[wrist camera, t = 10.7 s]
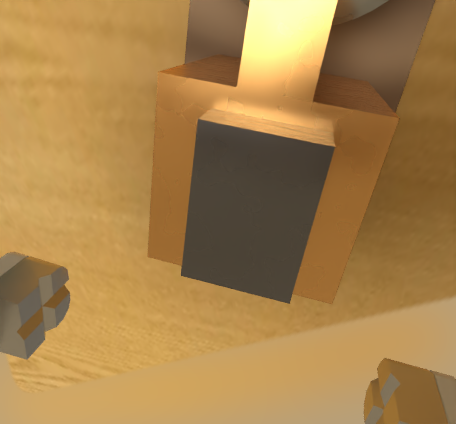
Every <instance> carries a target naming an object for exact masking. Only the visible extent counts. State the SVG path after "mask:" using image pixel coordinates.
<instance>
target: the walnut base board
mask: <svg viewBox="0 0 456 424" xmlns="http://www.w3.org/2000/svg"><path fill="white" fill-rule="evenodd" d="M434 3H435V0H388V1H387V2H385V3H384V4H382V5H381V6H379V7H377V8H376V9H374V10H373V11H371V12H369V13H366V14H364V15H362V16H360V17H358V18H356V19H353V20H350V21H347V22H344V23H341V24H337V25H331V29H330V33H329V37H328V41H327V45H326V49H325V53H324V57H323V61H322V65H321V69H320V73H324V74H330V75H335V76H341V77H346V78H352V79H357V80H363V81H368V82H369V83H370V85H371V86H372V87H373V88H374V89H375V90H376V92H377V93H378V94H379V95H380V96H381V97H382V99H383V100H384V101H385V102H386V103H387V104H388V106H389V107H390V108H391V109H392V110H393V111H394V112H396V109H397V106H398V104H399V101H400V98H401V95H402V92H403V90H404V87H405V84H406V81H407V78H408V76H409V73H410V70H411V67H412V64H413V62H414V59H415V56H416V53H417V50H418V47H419V45H420V42H421V39H422V36H423V33H424V31H425V28H426V25H427V22H428V19H429V17H430V14H431V11H432V8H433V5H434ZM248 11H249V7H248V6H246V5H245V4H244V3H243V2H241V1H240V0H190V8H189V19H188V31H187V42H186V54H185V64H187V63H190V62H193V61H197V60H200V59H203V58H207V57H210V56H214V55H217V54H221V55H226V56H231V57H237V58H241V57H242V51H243V44H244V38H245V31H246V24H247V18H248Z"/></svg>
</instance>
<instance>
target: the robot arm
mask: <svg viewBox="0 0 456 424" xmlns="http://www.w3.org/2000/svg"><path fill="white" fill-rule="evenodd" d="M68 280H69V277H68V269H66V268H64V267H63V266H59V265H56V264H53V263H50V262H47V261H43V260H40V259H37V258H34V257H29V256H26V255H23V254H20V253H17V252H10V253H7V254H5V255H4V256H3V257H1V258H0V352H3V353H6V354H10V355H13V356H17V357H20V358H23V359H28V358H29V357H30V356H31V355H32V354H33V353H34V351H35V350H36V349H37V348H38V347H39V346H40V345H41V344H42V343H43V341H44V340H45V332H46V331H48V330H50V329H53V328H55V327H57V326H58V325H59V323H60V322H61V321H62V320H63V319H64V317H65V315H66V313H67V311H68V308H69V303H70V292H69V291H68V289H67V288H66V287H65V285H64V284H65V283H66V282H67V281H68ZM377 371H378V378H377V379H375V380H373V381H371V382H370V385H369V387H368V389H367V392H366V397H365V401H364V420H365V421H364V422H365V424H456V379H455V378H454V377H453V376H450V375H446V374H442V373H439V372H434V371H431V370H430V371H429V370H427V369H423V368H420V367H416V366H412V365H409V364H405V363H401V362H398V361H394V360H391V359H387V358H384V359H383V360H382V361H381V363H380V364H379V366H378V368H377Z"/></svg>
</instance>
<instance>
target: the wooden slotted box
mask: <svg viewBox="0 0 456 424" xmlns="http://www.w3.org/2000/svg"><path fill="white" fill-rule="evenodd" d="M240 1H241V2H243V3H244V4H245V5H246V6H248V7H249V11H248V18H247V24H246V31H245V38H244V44H243V51H242V57H241V58H237V57H231V56H226V55H221V54H217V55H214V56H210V57H207V58H203V59H200V60H197V61H193V62H190V63H187V64H183V65H180V66H177V67H173V68H170V69H167V70H163V71H160V72H158V82H157V99H156V117H155V135H154V153H153V171H152V188H151V206H150V224H149V242H148V257H150V258H154V259H158V260H162V261H166V262H170V263H174V264H177V265H181V266H182V260H183V251H184V241H185V232H186V223H187V214H188V205H189V195H190V186H191V177H192V168H193V158H194V149H195V140H196V131H197V122H198V118H200V117H201V116H202V115H204V114H205V113H206V112H207V111H209V110H210V109H211V108H212V109H217V110H222V111H228V112H233V113H238V114H243V115H248V116H253V117H258V118H263V119H268V120H273V121H278V122H283V123H288V124H293V125H298V126H303V127H308V128H313V129H318V130H323V131H328V132H333V135H334V142H335V149H334V153H333V156H332V160H331V163H330V167H329V170H328V173H327V177H326V180H325V184H324V187H323V191H322V194H321V197H320V201H319V204H318V208H317V211H316V215H315V218H314V221H313V225H312V228H311V232H310V235H309V239H308V242H307V245H306V249H305V252H304V256H303V259H302V262H301V266H300V269H299V273H298V276H297V280H296V283H295V286H294V290H293V293H292V294H295V295H299V296H303V297H307V298H311V299H314V300H318V301H322V302H326V303H330V304H332V303H333V300H334V298H335V295H336V292H337V289H338V287H339V284H340V281H341V278H342V276H343V273H344V270H345V267H346V265H347V262H348V259H349V256H350V254H351V251H352V248H353V245H354V243H355V240H356V237H357V234H358V232H359V229H360V226H361V223H362V221H363V218H364V215H365V212H366V210H367V207H368V204H369V201H370V199H371V196H372V193H373V190H374V188H375V185H376V182H377V180H378V177H379V174H380V171H381V169H382V166H383V163H384V160H385V158H386V155H387V152H388V149H389V147H390V144H391V141H392V138H393V136H394V133H395V130H396V127H397V125H398V122H399V119H400V118H399V117H398V116H397V115H396V114H395V112H394V111H393V110H392V109H391V108H390V107H389V106H388V104H387V103H386V102H385V101H384V100H383V99H382V97H381V96H380V95H379V94H378V93H377V92H376V90H375V89H374V88H373V87H372V86H371V85H370V83H369V82H368V81H363V80H357V79H352V78H346V77H341V76H335V75H330V74H324V73H320V69H321V65H322V61H323V57H324V53H325V49H326V45H327V41H328V37H329V33H330V29H331V25H337V24H341V23H344V22H347V21H350V20H353V19H356V18H358V17H360V16H362V15H364V14H366V13H369V12H371V11H373V10H374V9H376V8H377V7H379V6H381V5H382V4H384V3H385V2H387V1H388V0H240Z"/></svg>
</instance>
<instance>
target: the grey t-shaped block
mask: <svg viewBox="0 0 456 424" xmlns="http://www.w3.org/2000/svg"><path fill="white" fill-rule="evenodd" d="M334 149H335V142H334V135H333V132H328V131H323V130H318V129H313V128H308V127H303V126H298V125H293V124H288V123H283V122H278V121H273V120H268V119H263V118H258V117H253V116H248V115H243V114H238V113H233V112H228V111H222V110H217V109H212V108H211V109H210V110H209V111H207V112H206V113H205V114H204V115H202V116H201V117H200V118H198V122H197V131H196V140H195V149H194V158H193V168H192V177H191V186H190V195H189V205H188V214H187V223H186V232H185V241H184V251H183V260H182V269H181V276H184V277H188V278H192V279H196V280H200V281H204V282H208V283H211V284H215V285H219V286H223V287H227V288H231V289H235V290H239V291H242V292H246V293H250V294H254V295H258V296H262V297H266V298H270V299H274V300H277V301H281V302H285V303H289V304H290V300H291V297H292V293H293V290H294V286H295V283H296V280H297V276H298V273H299V269H300V266H301V262H302V259H303V256H304V252H305V249H306V245H307V242H308V239H309V235H310V232H311V228H312V225H313V221H314V218H315V215H316V211H317V208H318V204H319V201H320V197H321V194H322V191H323V187H324V184H325V180H326V177H327V173H328V170H329V167H330V163H331V160H332V156H333V153H334Z"/></svg>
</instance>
